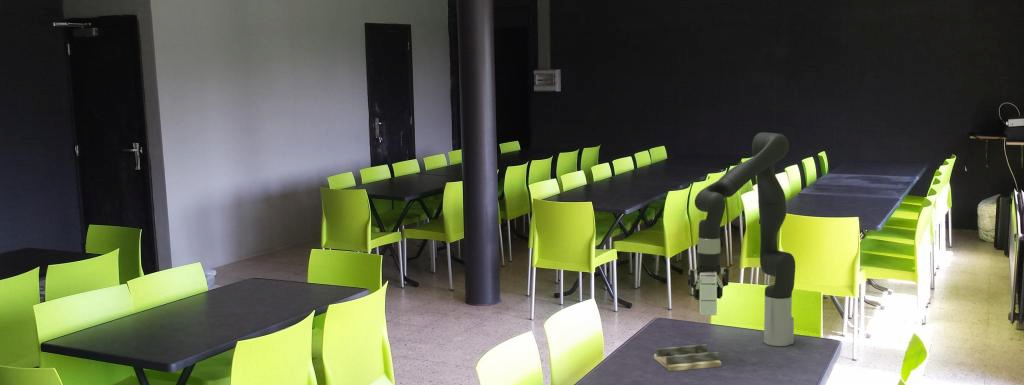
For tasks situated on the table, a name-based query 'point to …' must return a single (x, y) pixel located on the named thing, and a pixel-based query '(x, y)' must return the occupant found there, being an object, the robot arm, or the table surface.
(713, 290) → the syrup box
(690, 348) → the rail board
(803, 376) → the table surface
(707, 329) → the table surface
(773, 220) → the robot arm
